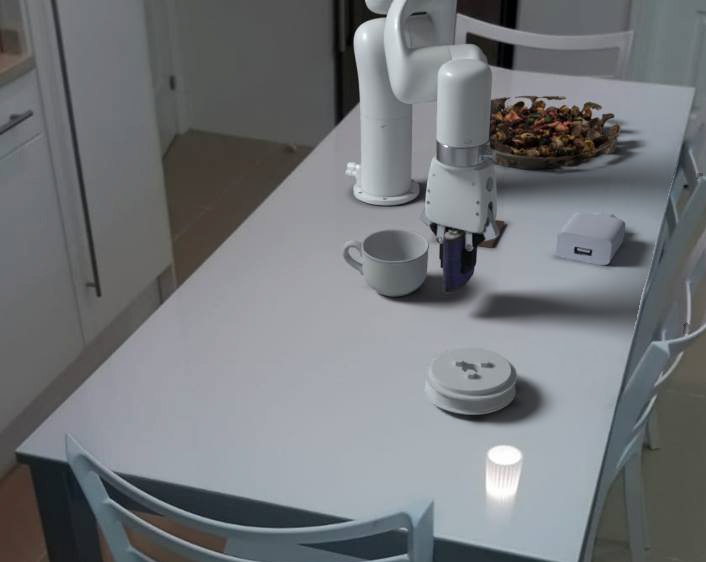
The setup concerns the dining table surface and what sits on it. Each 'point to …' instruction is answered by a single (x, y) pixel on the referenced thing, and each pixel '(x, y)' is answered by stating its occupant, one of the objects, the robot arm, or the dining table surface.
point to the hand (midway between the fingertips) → (457, 266)
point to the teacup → (391, 260)
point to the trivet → (490, 242)
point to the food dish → (547, 134)
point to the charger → (591, 237)
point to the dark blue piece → (454, 261)
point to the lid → (470, 381)
